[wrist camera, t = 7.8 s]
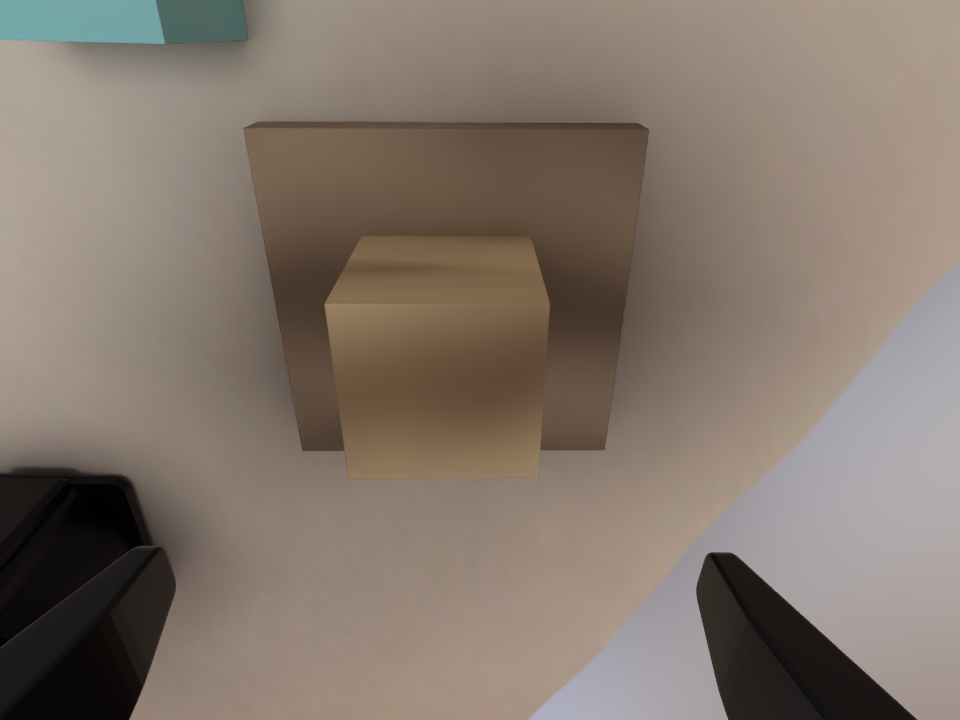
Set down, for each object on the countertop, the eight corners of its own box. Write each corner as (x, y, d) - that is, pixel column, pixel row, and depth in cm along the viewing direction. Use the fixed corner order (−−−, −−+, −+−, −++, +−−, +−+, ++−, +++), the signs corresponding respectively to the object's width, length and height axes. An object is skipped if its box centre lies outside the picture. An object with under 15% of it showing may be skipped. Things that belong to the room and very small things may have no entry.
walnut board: (594, 418, 23) (604, 450, 21) (315, 418, 23) (302, 450, 21) (631, 119, 18) (649, 129, 16) (266, 118, 18) (243, 128, 16)
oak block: (523, 379, 20) (538, 477, 15) (376, 380, 20) (348, 478, 15) (530, 235, 17) (550, 303, 13) (361, 235, 17) (324, 303, 13)
